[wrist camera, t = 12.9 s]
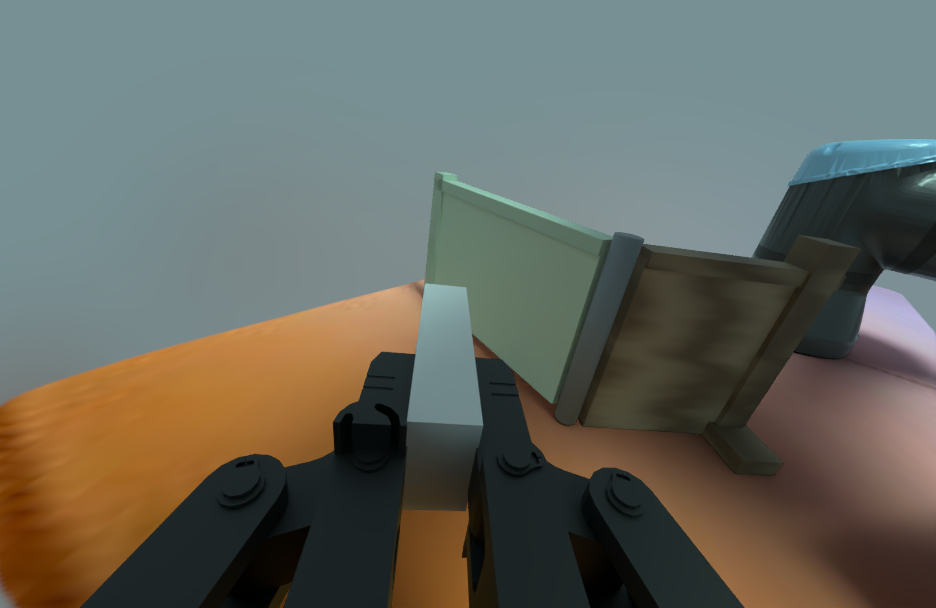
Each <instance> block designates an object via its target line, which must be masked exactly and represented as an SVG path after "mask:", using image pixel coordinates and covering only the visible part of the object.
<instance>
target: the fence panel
mask: <svg viewBox="0 0 936 608" xmlns="http://www.w3.org/2000/svg"><path fill="white" fill-rule="evenodd" d="M457 177H458V176H457V175H454V174H451V173H445V172H435V178H434V189H433V199H432V210H431V220H430V231H429V241H428V252H427V263H426V273H425V283H426V284H436V285H447V286H457V287H466V289H467V298H468V306H469V314H470V322H471V330H472V334H473V335H474V336H475V337H477V338H478V339H479V340H480V341H481V342H482V343H483V344H484V345H486V346H487V347H488V348H489V349H490V350H491V351H492V352H494V353H495V354H496V355H497V356H498V357H499V358H500V359H501V360H503V361H504V362H505V363H506V364H507V365H508V366H509V367H510V368H512V369H513V370H514V371H515V372H516V373H517V374H518V375H519V376H521V377H522V378H523V379H524V380H525V381H526V382H527V383H528V384H530V385H531V386H532V387H533V388H534V389H535V390H536V391H537V392H539V393H540V394H541V395H542V396H543V397H544V398H545V399H547V400H548V401H549V402H550V403H551V404H554V403H556V402H558V404H557V408H556V411H555V417H556V419H557V420H558V421H559V422H561V423H563V424H565V425H574V424H575V423H576V421H577V418H578V416H579V413H580V410H581V408H582V405H583V402H584V400H585V397H586V394H587V392H588V389H589V386H590V384H591V381H592V378H593V376H594V373H595V370H596V368H597V365H598V362H599V360H600V357H601V354H602V352H603V349H604V346H605V344H606V341H607V338H608V336H609V333H610V330H611V327H612V325H613V322H614V319H615V317H616V314H617V311H618V309H619V306H620V303H621V301H622V298H623V295H624V293H625V290H626V287H627V285H628V282H629V279H630V277H631V274H632V271H633V269H634V266H635V263H636V261H637V258H638V255H639V253H640V250H641V247H642V245H643V242H644V239H643V238H641V237H639V236H636V235H632V234H628V233H622V232H615V233H614V236H613V237H612V236H610V235H607V234H604V233H601V232H598V231H596V230H593V229H590V228H587V227H584V226H581V225H578V224H576V223H573V222H570V221H567V220H565V219H562V218H559V217H556V216H553V215H551V214H548V213H545V212H542V211H539V210H537V209H534V208H531V207H528V206H525V205H523V204H520V203H517V202H514V201H511V200H509V199H506V198H503V197H500V196H497V195H494V194H492V193H489V192H486V191H483V190H481V189H478V188H475V187H472V186H469V185H467V184H464V183H461V182H458V181H457ZM425 283H424V287H425ZM423 295H424V294H423Z"/></svg>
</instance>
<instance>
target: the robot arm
mask: <svg viewBox="0 0 936 608" xmlns="http://www.w3.org/2000/svg"><path fill="white" fill-rule="evenodd" d="M787 186H790V187H789V189H788V190H787V192H786V194H785V196H784V198H783V200H782V202H781V204H780V205H779V207H778V209H777V211H776V213H775V215H774V216H773V218H772V220H771V222H770V224H769V226H768V227H767V230H766V231H765V233H764V235H763V237H762V239H761V240H760V242H759V245H758V247H757V248H756V250H755V252H754V254H753V256H752V257H751V258H757V259H764V260H772V261H780V262H784V260H785V258H786V256H787V254H788V253H789V251H790V249H791V247H792V246H793V244H794V242H795V240H796V239H797V237H798V235H802V236H809V237H816V238H824V239H829V240H832V241H836V242H839V243H843V244H846V245H849V246H853V247H856V248H860V249H861V251H860V252H859V254H858V255H857V257H856V258H855V260H854V261H853V263H852V264H851V266H850V267H849V269H848V270H847V272H846V273H845V276H847V277H846V279H845V280H844V282H843V283H842V285H841V286H840V288H839V289H838V291H837V292H836V291H833V293H832V294H831V296H830V297H829V299H828V300H827V302H826V304H825V305H824V307H823V308H822V310H821V311H820V313H819V314H818V316H817V317H816V319H815V320H814V322H813V323H812V325H811V326H810V328H809V329H808V331H807V332H806V334H805V335H804V337H803V338H802V340H801V341H800V343H799V344H798V346H797V347H796V349H795V350H794V351H796V352H800V353H804V354H808V355H813V356H818V357H825V358H842V357H845V356H847V354H848V353H849V352H850V350H851V349H852V348H853V346H854V345H855V344H856V342H857V340H858V337H859V334H858V333H859V329H860V325H861V321H862V317H863V312H864V307H865V302H866V297H867V294H868V292H869V290H870V288H871V287H872V285H873V284H874V283H875V281H876V280H877V278H878V277H879V275H880V274H881V273H882V272H883V270H891V271H895V272H899V273H903V274H908V275H912V276H916V277H920V278H924V279H929V280H933V281H936V140H927V139H926V140H924V139H922V140H921V139H920V140H919V139H918V140H917V139H915V140H914V139H903V140H902V139H899V140H896V139H895V140H862V141H845V142H836V143H829V144H825V145H822V146H820V147H817V148H816V149H814V150H812V151H811V152H810V153H809V154H808V155H807V156H806V158H805V159H804V161H803V163H802V164H801V166H800V168H799V169H798V171H797V173H796V175H795V176H794V178H793V179H792V181H790V182H789V183H788V185H787ZM333 432H334V451H333V452H331V453H330V454H328V455H326V456H324V457H322V458H319V459H316V460H313V461H310V462H306V463H302V464H298V465H293V466H289V467H285V468H284V467H283V465H282V463H281V462H280V461H279V460H278V459H276V458H274V457H272V456H270V455H260V454H253V455H248V456H243V457H239V458H236V459H234V460H232V461H230V462H228V463H226V464H224V465H222V466H220V467H219V468H218V469H216V470H215V471H214V472H213V473H211V474H210V475H209V476H208V477H207V478H206V479H205V480H204V481H203V482H202V483H201V484H200V485H199V486H198V487H197V488H196V489H195V490H194V491H193V492H192V493H191V494H190V495H189V496H188V497H187V498H186V499H185V500H184V501H183V502H182V503H181V504H180V505H179V506H178V507H177V508H176V509H175V510H174V511H173V512H172V513H171V515H170V516H169V517H168V518H167V519H166V520H165V521H164V522H163V523H162V524H161V525H160V526H159V527H158V528H157V529H156V530H155V531H154V532H153V533H152V534H151V535H150V536H149V537H148V538H147V539H146V540H145V541H144V542H143V543H142V544H141V545H140V546H139V547H138V548H137V549H136V550H135V551H134V553H133V554H132V555H131V556H130V557H129V558H128V559H127V560H126V561H125V562H124V563H123V564H122V565H121V566H120V567H119V568H118V569H117V570H116V571H115V572H114V573H113V574H112V575H111V576H110V577H109V578H108V579H107V580H106V581H105V582H104V583H103V584H102V585H101V586H100V587H99V588H98V589H97V590H96V592H95V593H94V594H93V595H92V596H91V597H90V598H89V599H88V600H87V601H86V602H85V603H84V604H83V605H82V606H81V607H80V608H279V606H280V604H281V602H282V601H283V599H284V597H285V595H286V593H287V592H288V590H289V588H290V590H289V593H288V596H287V599H286V602H285V605H284V608H391V606H392V597H393V588H394V579H395V570H396V561H397V552H398V543H399V532H400V520H401V511H402V509H409V510H446V511H466V507H467V502H468V509H469V523H468V527H467V532H466V537H465V541H464V546H463V552H462V558H467V569H468V591H469V608H744V606H743V605H742V604H741V603H740V601H739V600H738V599H737V598H736V596H735V595H734V594H733V593H732V591H731V590H730V589H729V588H728V586H727V585H726V584H725V583H724V581H723V580H722V579H721V578H720V576H719V575H718V574H717V572H716V571H715V570H714V569H713V567H712V566H711V565H710V564H709V562H708V561H707V560H706V559H705V557H704V556H703V555H702V554H701V552H700V551H699V550H698V549H697V547H696V546H695V545H694V544H693V542H692V541H691V540H690V538H689V537H688V536H687V535H686V533H685V532H684V531H683V530H682V528H681V527H680V526H679V525H678V523H677V522H676V521H675V520H674V518H673V517H672V516H671V515H670V513H669V512H668V511H667V510H666V508H665V507H664V506H663V505H662V503H661V502H660V501H659V499H658V498H657V497H656V496H655V494H654V493H653V492H652V491H651V490H650V489H649V488H648V487H647V486H646V485H645V484H644V483H643V482H642V481H641V480H640V479H638V478H637V477H635V476H633V475H632V474H630V473H629V472H626V471H623V470H620V469H617V468H602V469H599V470H597V471H595V472H594V473H593V475H592V477H591V478H590V479H588V478H585V477H582V476H579V475H576V474H573V473H570V472H567V471H564V470H562V469H560V468H557V467H555V466H553V465H552V464H550V463H549V462H547V461H546V459H545V457H544V455H543V453H542V452H541V451H540V450H539V449H538V448H537V447H536V446H535V445H534V444H533V443H532V441H531V439H530V435H529V432H528V428H527V424H526V420H525V417H524V413H523V409H522V405H521V402H520V398H519V394H518V390H517V387H516V383H515V379H514V375H513V372H512V370H511V369H510V368H509V367H508V365H507V364H506V363H505V362H504V361H503V360H500V359H487V358H475V354H474V346H473V338H472V330H471V322H470V314H469V306H468V298H467V289H466V287H457V286H447V285H436V284H426V283H425V287H424V295H423V302H422V310H421V317H420V325H419V333H418V340H417V348H416V354H405V353H392V352H381V353H380V354H379V355H378V356H377V357H376V358H375V359H374V360H373V361H372V362H371V364H370V367H369V370H368V373H367V378H366V380H365V383H364V386H363V389H362V392H361V396H360V399H359V401H358V402H355V403H352V404H350V405H348V406H347V407H346V408H344V409H343V410H342V411H340V412H339V414H338V415H337V417H336V418H335V420H334V421H333ZM290 586H291V587H290Z"/></svg>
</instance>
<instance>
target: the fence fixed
mask: <svg viewBox="0 0 936 608" xmlns="http://www.w3.org/2000/svg"><path fill="white" fill-rule="evenodd" d="M860 251H861V249H860V248H856V247H853V246H849V245H846V244H843V243H839V242H836V241H832V240H829V239H824V238H816V237H809V236H802V235H798V237H797V239H796V240H795V242H794V244H793V246H792V247H791V249H790V251H789V253H788V254H787V256H786V258H785V260H784V262H780V261H772V260H764V259H757V258H749V257H741V256H733V255H726V254H718V253H709V252H702V251H695V250H686V249H679V248H671V247H663V246H655V245H648V244H643V245H642V247H641V250H640V253H639V255H638V258H637V261H636V263H635V266H634V269H633V271H632V274H631V277H630V279H629V282H628V285H627V287H626V290H625V293H624V295H623V298H622V301H621V303H620V306H619V309H618V311H617V314H616V317H615V319H614V322H613V325H612V327H611V330H610V333H609V336H608V338H607V341H606V344H605V346H604V349H603V352H602V354H601V357H600V360H599V362H598V365H597V368H596V370H595V373H594V376H593V378H592V381H591V384H590V386H589V389H588V392H587V394H586V397H585V400H584V402H583V405H582V408H581V410H580V413H579V418H580V420H581V423H582V425H583V426H589V427H605V428H621V429H637V430H652V431H668V432H684V433H700V434H702V435H703V436H704V437H705V438H706V440H707V441H708V442H709V443H710V444H711V445H712V447H713V448H714V449H715V450H716V451H717V453H718V454H719V455H720V456H721V457H722V459H723V460H724V461H725V462H726V463H727V465H728V466H729V467H730V468H731V469H732V471H733V472H734V473H740V474H760V475H775V474H776V473H777V472H778V470H779V469H780V468H781V466H782V465H783V464H784V462H783V461H782V460H781V459H780V458H779V457H777V456H776V455H775V454H774V453H773V452H772V451H771V450H770V449H769V448H768V447H767V446H766V445H765V444H764V443H763V442H762V441H761V440H760V439H759V438H758V437H757V436H756V435H755V434H754V433H753V432H752V431H751V430H750V429H749V428H748V427H747V426H746V425H745V424H746V423H747V421H748V420H749V418H750V417H751V415H752V414H753V412H754V411H755V409H756V408H757V406H758V405H759V403H760V402H761V400H762V399H763V397H764V396H765V394H766V393H767V391H768V390H769V388H770V387H771V385H772V384H773V382H774V380H775V379H776V377H777V376H778V374H779V373H780V371H781V370H782V368H783V367H784V365H785V364H786V362H787V361H788V359H789V358H790V356H791V355H792V353H793V352H794V350H795V349H796V347H797V346H798V344H799V343H800V341H801V340H802V338H803V337H804V335H805V334H806V332H807V331H808V329H809V328H810V326H811V325H812V323H813V322H814V320H815V319H816V317H817V316H818V314H819V313H820V311H821V310H822V308H823V307H824V305H825V304H826V302H827V300H828V299H829V297H830V296H831V294H832V293H833V291H836V292H837V291H838V289H839V288H840V286H841V285H842V283H843V282H844V280H845V279H846V277H847V276H845V273H846V272H847V270H848V269H849V267H850V266H851V264H852V263H853V261H854V260H855V258H856V257H857V255H858V254H859V252H860Z"/></svg>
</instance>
